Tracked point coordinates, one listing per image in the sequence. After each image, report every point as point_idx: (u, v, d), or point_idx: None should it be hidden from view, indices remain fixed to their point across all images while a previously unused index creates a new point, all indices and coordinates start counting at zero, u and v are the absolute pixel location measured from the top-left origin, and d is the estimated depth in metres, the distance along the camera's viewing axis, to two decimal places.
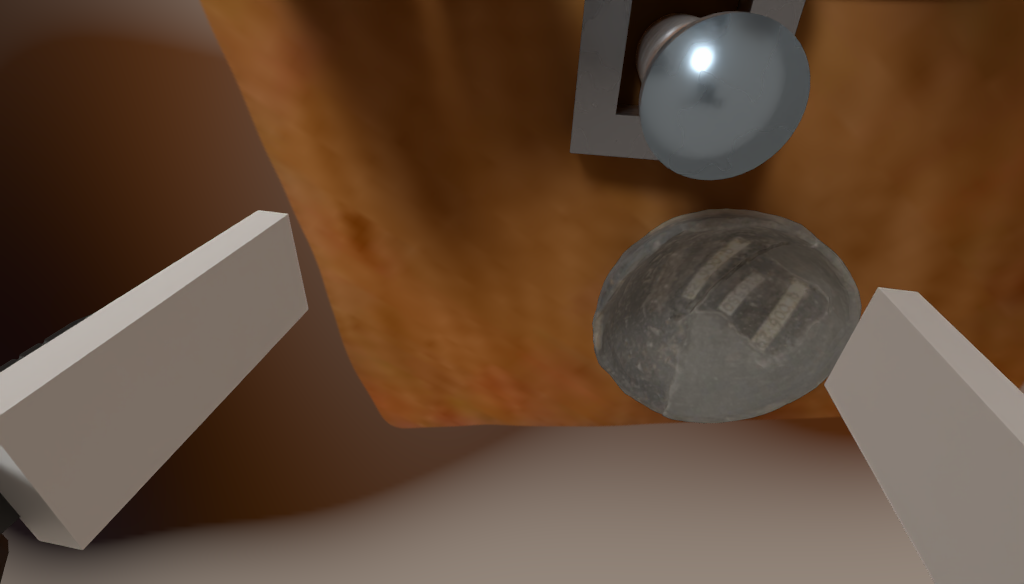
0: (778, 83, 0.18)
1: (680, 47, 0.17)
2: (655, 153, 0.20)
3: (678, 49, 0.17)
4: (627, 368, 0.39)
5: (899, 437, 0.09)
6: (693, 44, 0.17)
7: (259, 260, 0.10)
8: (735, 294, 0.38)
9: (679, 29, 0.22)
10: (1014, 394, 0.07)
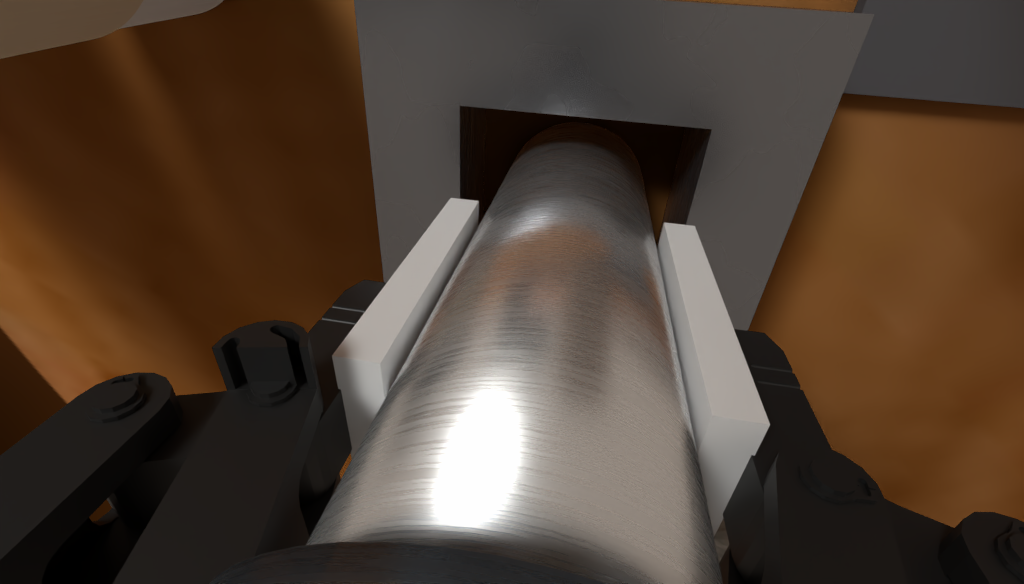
0: None
1: None
2: None
3: None
4: None
5: None
6: None
7: (466, 240, 0.12)
8: None
9: (478, 278, 0.08)
10: (715, 288, 0.10)
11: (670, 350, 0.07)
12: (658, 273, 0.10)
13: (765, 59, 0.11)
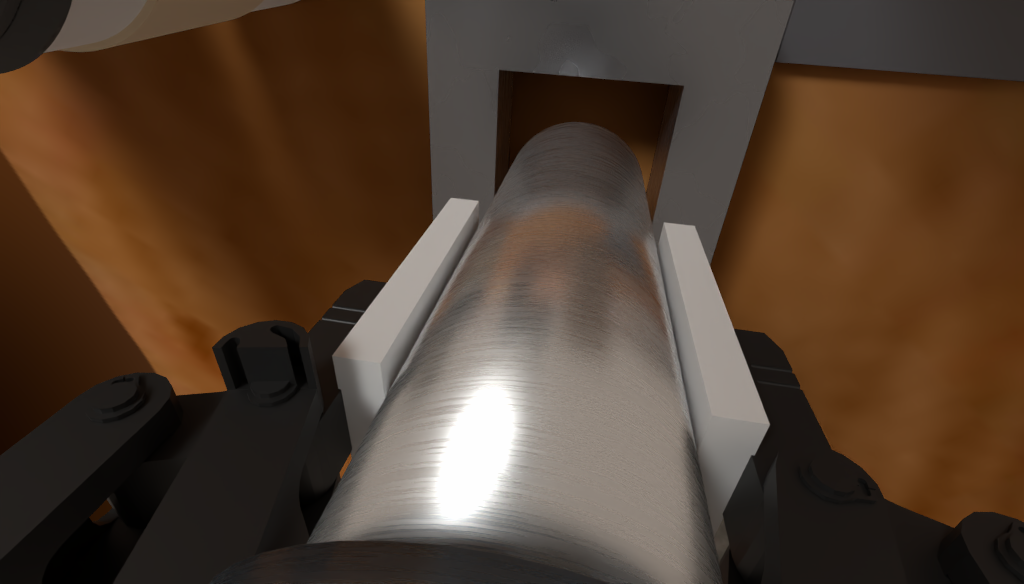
0: None
1: None
2: None
3: None
4: None
5: None
6: None
7: (466, 240, 0.12)
8: None
9: (478, 278, 0.08)
10: (715, 288, 0.10)
11: (670, 350, 0.07)
12: (658, 273, 0.10)
13: (720, 33, 0.16)
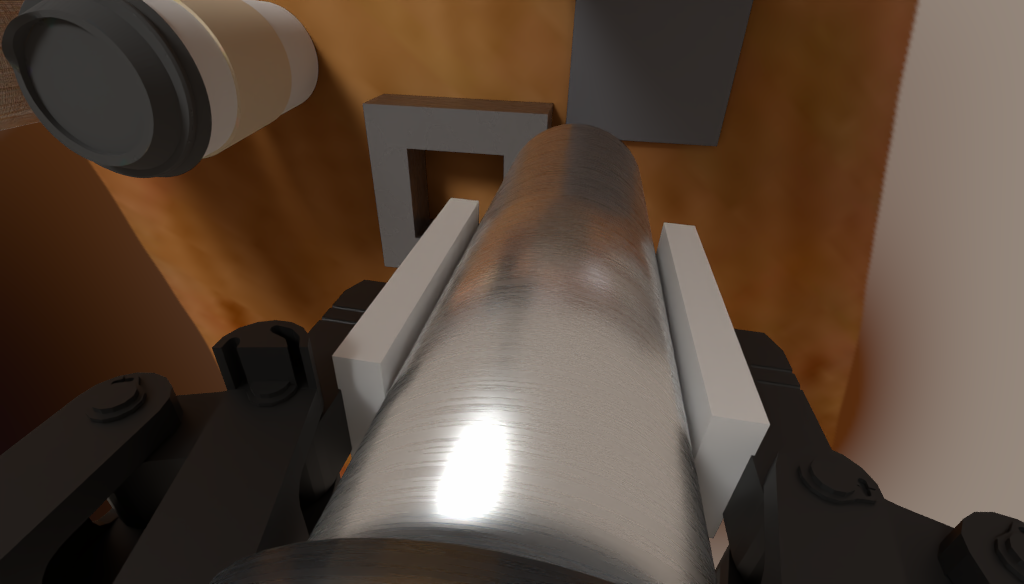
0: None
1: None
2: None
3: None
4: None
5: None
6: None
7: (466, 240, 0.12)
8: None
9: (477, 279, 0.08)
10: (715, 288, 0.10)
11: (666, 350, 0.07)
12: (655, 274, 0.10)
13: (516, 129, 0.30)
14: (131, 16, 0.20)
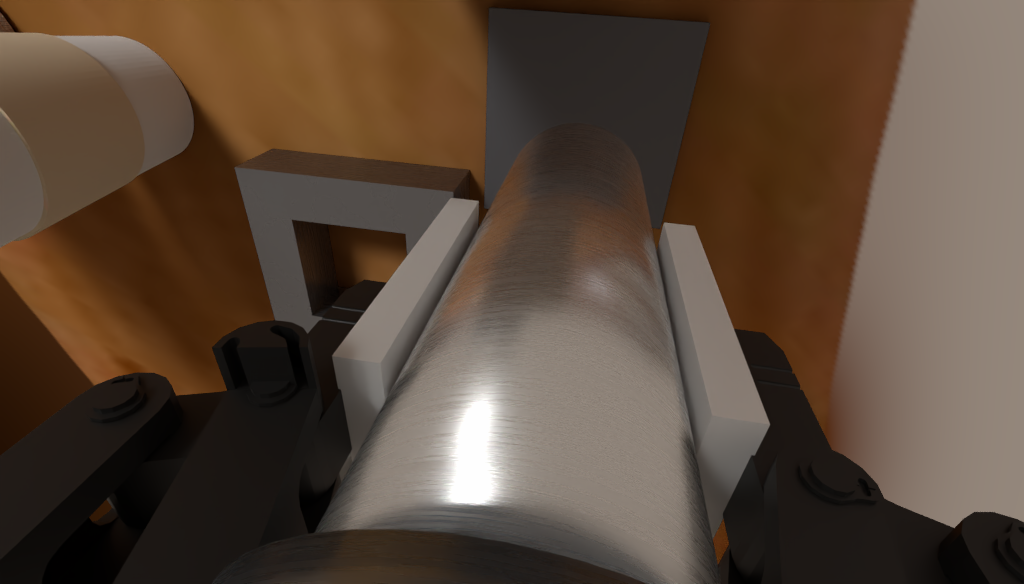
0: None
1: None
2: None
3: None
4: None
5: None
6: None
7: (466, 240, 0.12)
8: None
9: (480, 277, 0.08)
10: (715, 288, 0.10)
11: (668, 348, 0.08)
12: (657, 272, 0.10)
13: (417, 206, 0.25)
14: None
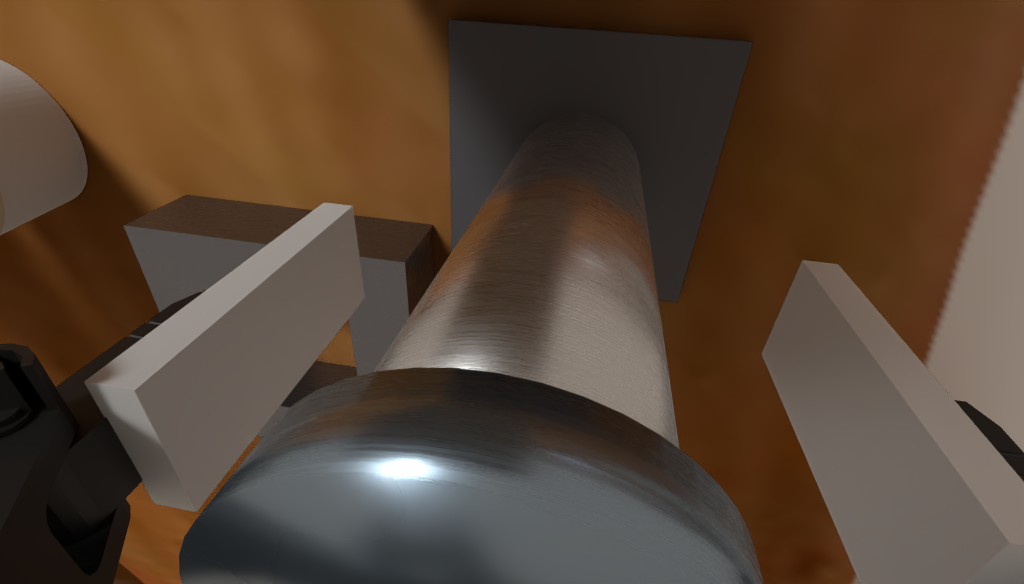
0: None
1: (243, 531, 0.04)
2: None
3: (239, 534, 0.04)
4: None
5: (812, 393, 0.09)
6: (287, 534, 0.04)
7: (330, 248, 0.11)
8: None
9: (484, 231, 0.09)
10: (902, 348, 0.08)
11: (649, 293, 0.09)
12: (645, 238, 0.11)
13: None
14: None
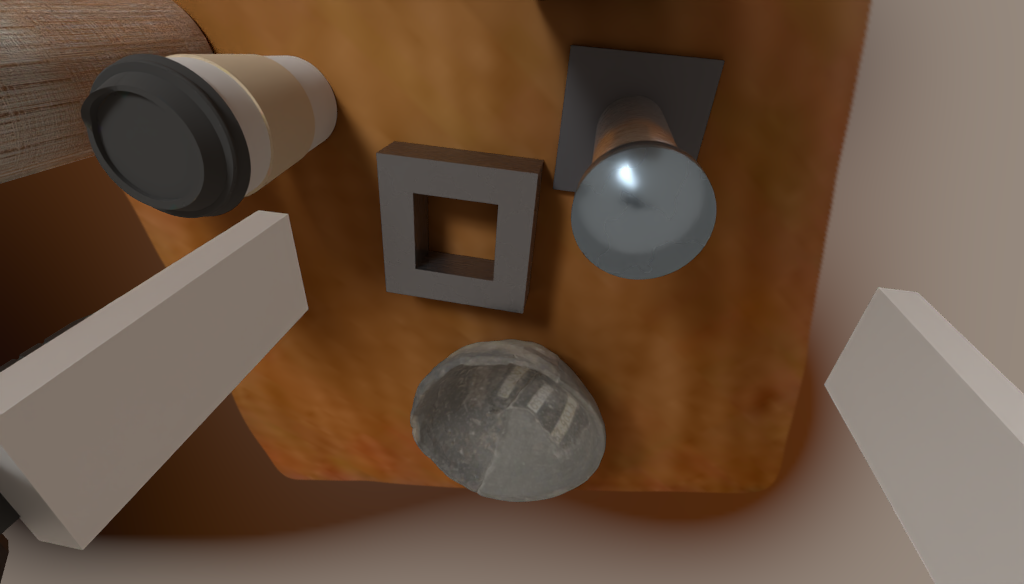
0: (689, 206, 0.20)
1: (604, 171, 0.20)
2: (585, 253, 0.22)
3: (602, 172, 0.20)
4: (449, 453, 0.47)
5: (899, 438, 0.09)
6: (615, 169, 0.20)
7: (259, 259, 0.10)
8: (538, 397, 0.47)
9: (619, 132, 0.25)
10: (1013, 394, 0.07)
11: None
12: None
13: (510, 184, 0.35)
14: (193, 92, 0.24)
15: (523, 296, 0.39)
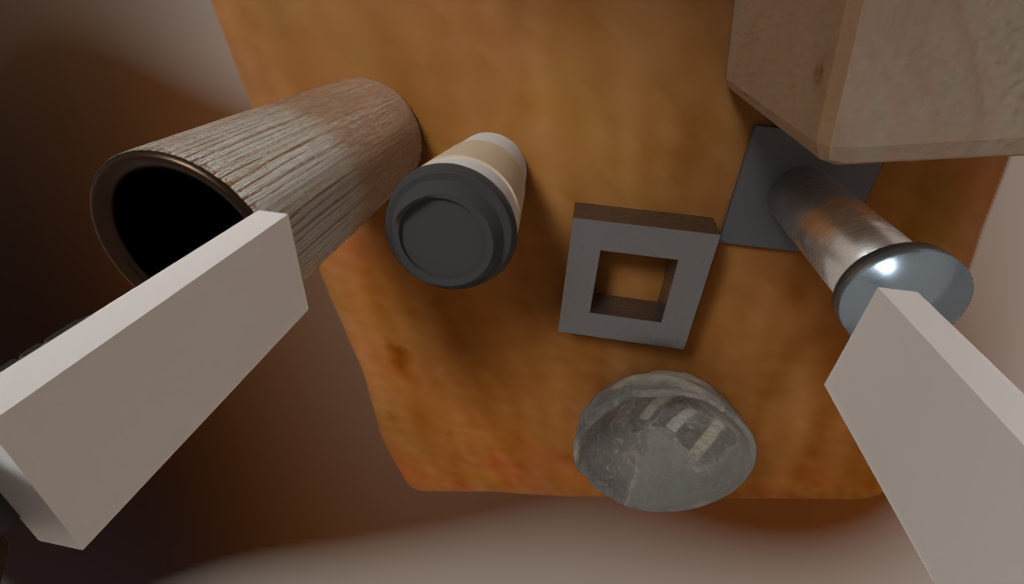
0: (949, 294, 0.25)
1: (882, 268, 0.25)
2: (846, 328, 0.27)
3: (880, 269, 0.25)
4: (598, 470, 0.53)
5: (899, 437, 0.09)
6: (892, 267, 0.25)
7: (259, 259, 0.10)
8: (678, 418, 0.52)
9: (847, 219, 0.30)
10: (1013, 394, 0.07)
11: None
12: None
13: (692, 243, 0.40)
14: (490, 195, 0.30)
15: (687, 335, 0.44)
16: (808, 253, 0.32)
